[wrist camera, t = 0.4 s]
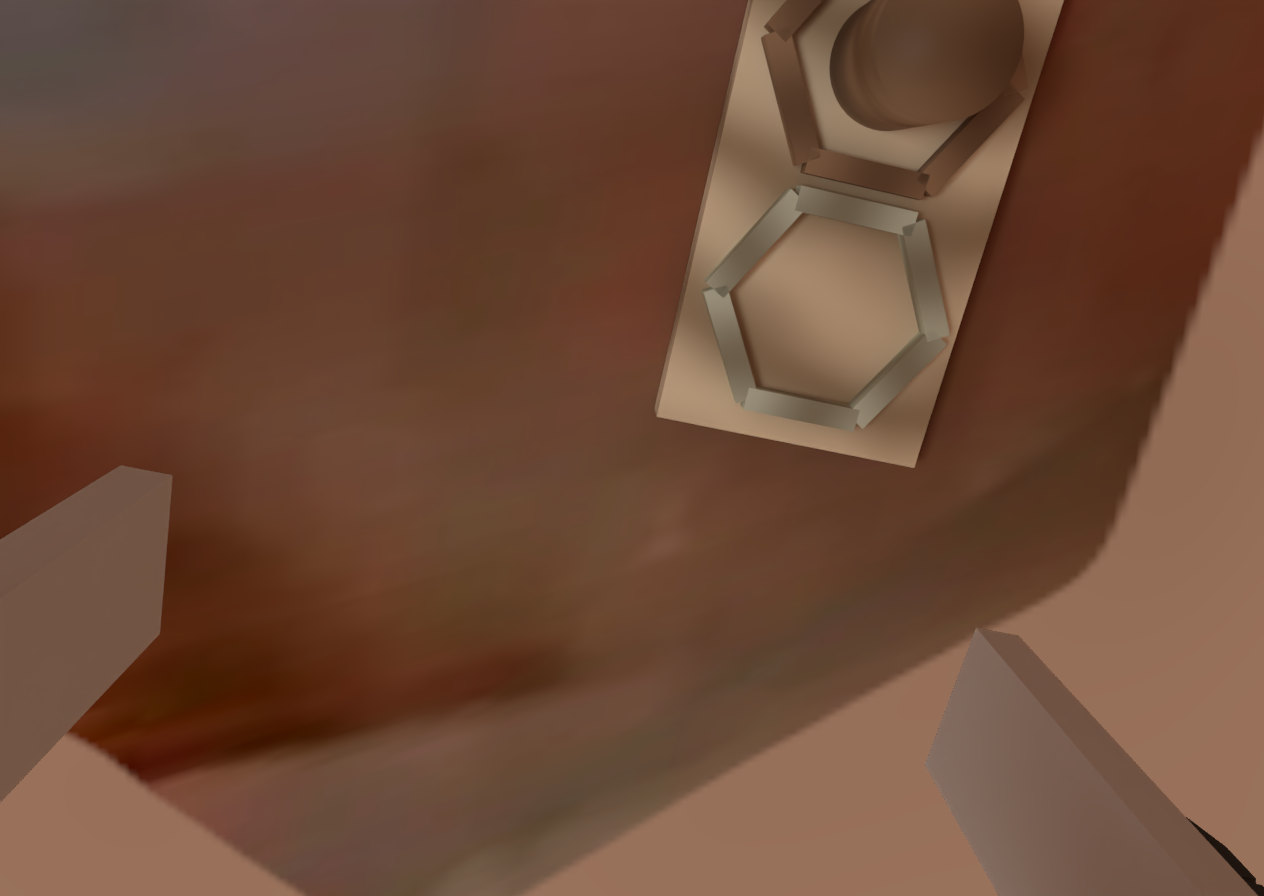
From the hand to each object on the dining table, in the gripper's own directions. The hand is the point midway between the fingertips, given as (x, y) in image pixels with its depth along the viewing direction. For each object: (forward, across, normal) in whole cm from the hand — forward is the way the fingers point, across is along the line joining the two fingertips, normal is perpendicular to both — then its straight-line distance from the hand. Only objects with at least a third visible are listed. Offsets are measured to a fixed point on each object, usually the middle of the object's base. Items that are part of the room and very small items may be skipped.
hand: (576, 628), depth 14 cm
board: (+26, +10, +9) cm, 29 cm away
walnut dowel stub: (+25, +10, +14) cm, 30 cm away
